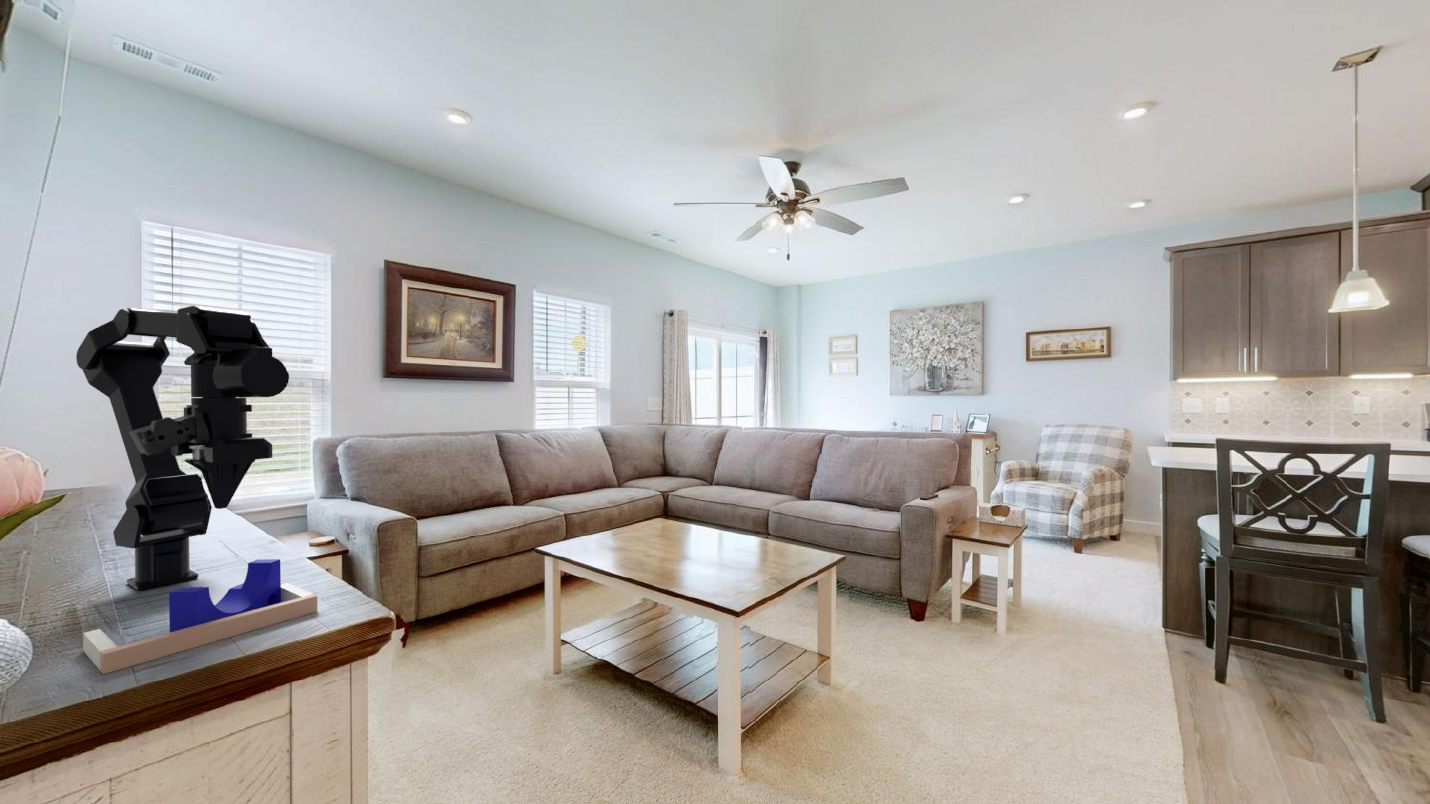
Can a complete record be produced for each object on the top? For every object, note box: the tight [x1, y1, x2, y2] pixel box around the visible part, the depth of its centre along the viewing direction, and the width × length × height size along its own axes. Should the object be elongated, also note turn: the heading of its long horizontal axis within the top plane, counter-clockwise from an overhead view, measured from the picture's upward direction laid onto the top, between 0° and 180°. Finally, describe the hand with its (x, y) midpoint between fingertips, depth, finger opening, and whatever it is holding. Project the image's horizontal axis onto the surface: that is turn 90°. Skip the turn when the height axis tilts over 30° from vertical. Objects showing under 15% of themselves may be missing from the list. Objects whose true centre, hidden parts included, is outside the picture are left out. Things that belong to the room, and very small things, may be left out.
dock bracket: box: [82, 582, 318, 675], centre depth 64 cm, size 9×18×2 cm, turn 148°
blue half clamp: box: [168, 558, 282, 633], centre depth 66 cm, size 12×4×6 cm, turn 2°
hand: (220, 508), depth 75 cm, fingers closed
